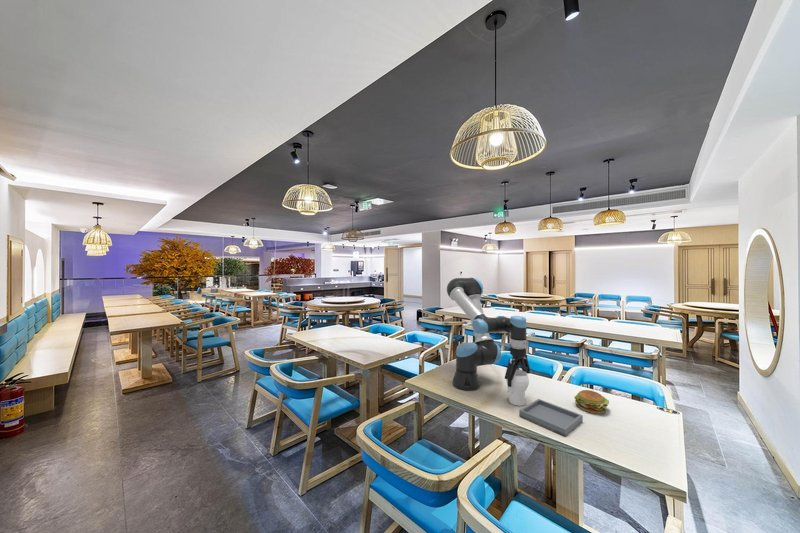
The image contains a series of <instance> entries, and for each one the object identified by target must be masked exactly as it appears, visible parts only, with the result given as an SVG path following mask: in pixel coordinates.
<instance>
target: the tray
mask: <svg viewBox="0 0 800 533" xmlns="http://www.w3.org/2000/svg"><path fill="white" fill-rule="evenodd" d="M518 413H519V415H518V417H519V416H520V417H519V418H521V419H524V420H526V419H527V420H526V421H528V420H529V422H531V423H533V424H535V425H538V426H540V427H542V428H544V429H546V430H549V431H551V432H553V433H556V434H558V435H560V436H563V437H567V436H568V435H569V434H571V432H573V431H574V430H575V429H576V428H577V427H578V426H580V425H581V424H582V423H583V421H584V420H583V416H584V415H582V414H580V413H577V412H576V411H571V410H569V409H566V408H564V407H562V406H558V405H557V404H553V403H551V402H549V401H547V400H546V401H545V400H544V399H540V398H538V399H535V400H534V401H533V402H531V403H529V404H527V405H526V406H525V405H524V407H522V408H520V409H519V412H518Z"/></svg>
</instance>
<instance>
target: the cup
mask: <svg viewBox="0 0 800 533" xmlns="http://www.w3.org/2000/svg"><path fill="white" fill-rule="evenodd" d="M512 380H513V394H511V393H509V398H508V402H509V403H510V404H511V405H514V406H520V407H522V406H525V405H526V399H525V394H526V391H527V389H528V387H529V384H530V379H529V375H528V374H527V373H526V372H524V371H522V369H516V372H515V374H514V377H513V379H512ZM505 381H506V384H507V386H508V380H507V379H505Z"/></svg>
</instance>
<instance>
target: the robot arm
mask: <svg viewBox="0 0 800 533" xmlns="http://www.w3.org/2000/svg"><path fill="white" fill-rule="evenodd" d="M483 292H484V286H483V283H482V281H481V280H480V279H479V278H476V277H456V278H453V279H451V280H450V281H449V282H448V283H447V285H446V294H447V295H448V297H449V298H450V300H451V301H454V302H455V303H456V304H457V305H458V307H459V308H460V309H461V310H462V311H463V312H464V313H465V315H466V316H467V317H468V318H469V320H470V322H471V326H472V331H473V334H474V339H475V341H474V342H470V341H469V342H462V343H459V344H458V345H457V347H456V350H455V356H456V357H455V359H456V360H455V373H454V375H453V379H452V385H453V387H455V388H457V389H458V390H463V391H476V390H478V389H479V388H480V386H481V382H480V380H479V376H478V369H477V368H478V367H480V366H481V367H482V366H488V365H490V366H492V365H495V364H498V363H499V361H500V360H501V358H502V350H501V346H500V345H499V344H498V343H496V342H495V341H494V338H492V337H491V335H490V334H492V333H502V332H503V333H509V334H510V336H509V338H510V339H509V353H510V355H511V356H512V358H508V360H507V367H506V370H505V374H504V379H505V380H506V379H507V380H508V385H507V393H509V394H510V393H511V394H513V380H512V379H513V377H514V374H515V372H516V370H518V369H519V367H520V368H521V369H520V370H521V371H524V372H526V373H527V374H531V372H530V371H531V368H530V363H529V360H528V355H527V327H528V326H527V319H526V317H525V316H521V315H512V316H510V317H507V316H504V315H497V316H496V317H488V316H486V315H485V313H484V310H483V307H482V303H481V298H482V295H483Z"/></svg>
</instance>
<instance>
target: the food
mask: <svg viewBox="0 0 800 533" xmlns="http://www.w3.org/2000/svg"><path fill="white" fill-rule="evenodd" d="M573 398H574V403H575V404H576V406H577V407H578V408H579V409H581V410H582V411H585V412H588V413H589V414H590V413H591V414H604V413H605V412H606V408H607V407H608V405H609V404H610V401H609V400H608V399H607V398H606V397H605V396H603V395H602V394H600V392H597V391H595V390H590V389H589V390H588V389H582V390H581V391H578V393H577V394H576V395H575V396H574V397H573Z"/></svg>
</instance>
